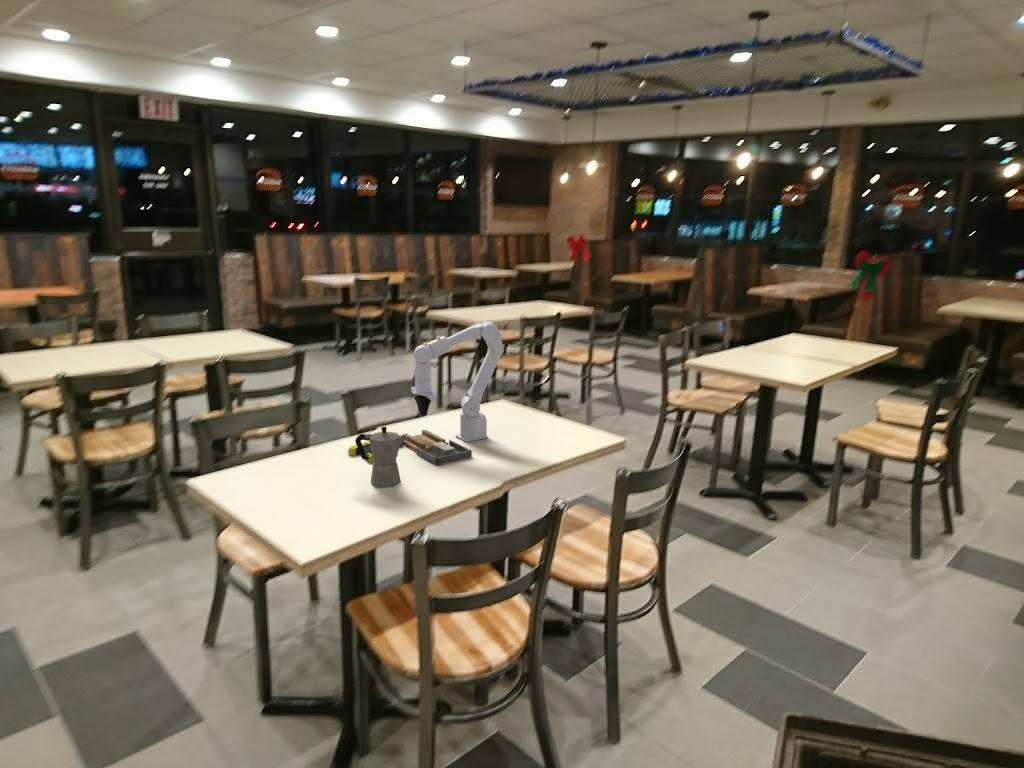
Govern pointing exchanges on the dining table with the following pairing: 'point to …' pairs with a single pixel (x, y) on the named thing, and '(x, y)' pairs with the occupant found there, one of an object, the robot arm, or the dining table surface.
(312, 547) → the dining table surface
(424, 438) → the slot board
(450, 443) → the tray
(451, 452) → the chip front
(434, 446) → the block
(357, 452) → the stun gun
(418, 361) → the robot arm
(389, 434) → the coffeepot
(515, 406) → the dining table surface
